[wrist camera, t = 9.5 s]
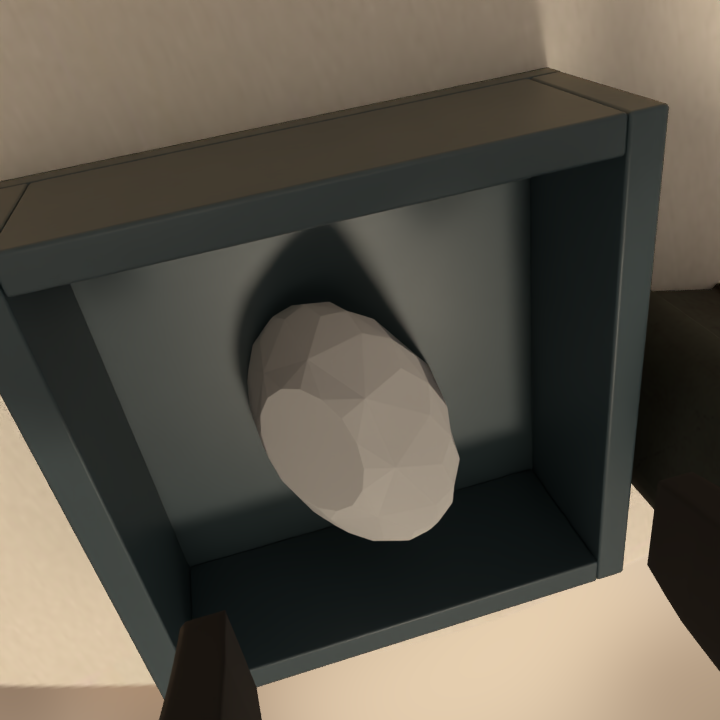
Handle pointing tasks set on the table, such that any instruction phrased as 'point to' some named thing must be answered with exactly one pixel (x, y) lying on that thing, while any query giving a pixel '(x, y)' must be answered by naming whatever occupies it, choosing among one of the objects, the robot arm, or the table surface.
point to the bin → (357, 295)
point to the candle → (679, 390)
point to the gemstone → (352, 422)
